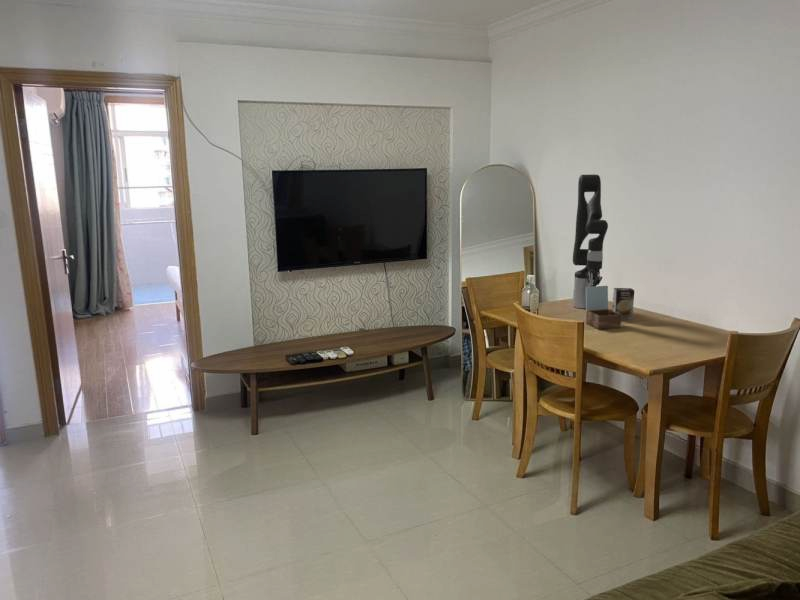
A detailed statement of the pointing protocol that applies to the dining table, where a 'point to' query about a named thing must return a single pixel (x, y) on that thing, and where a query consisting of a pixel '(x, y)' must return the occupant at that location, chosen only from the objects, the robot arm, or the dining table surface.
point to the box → (603, 319)
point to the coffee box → (623, 302)
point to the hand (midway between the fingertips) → (592, 292)
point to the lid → (596, 298)
